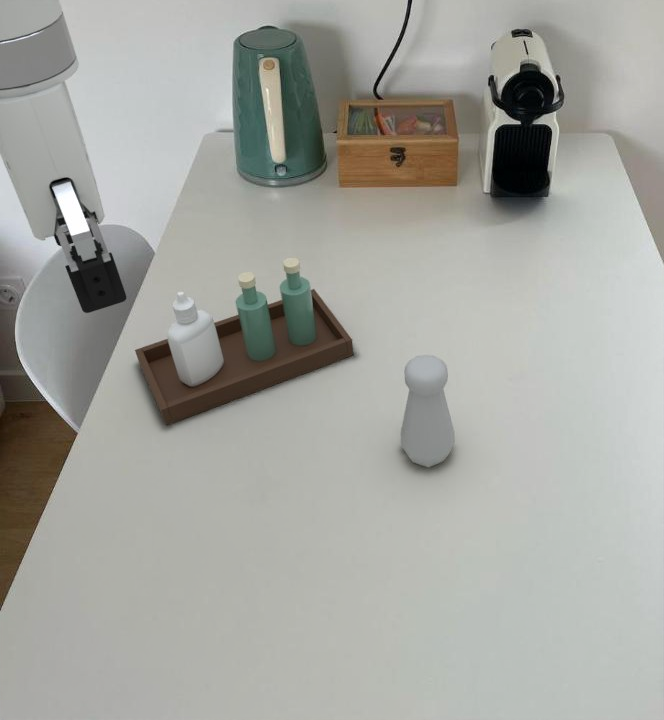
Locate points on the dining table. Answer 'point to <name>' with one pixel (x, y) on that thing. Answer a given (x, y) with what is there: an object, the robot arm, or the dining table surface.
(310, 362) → the tray
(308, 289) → the green bottle
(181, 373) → the white plastic bottle
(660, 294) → the dining table surface
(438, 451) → the salt shaker
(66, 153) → the robot arm
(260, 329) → the green bottle
